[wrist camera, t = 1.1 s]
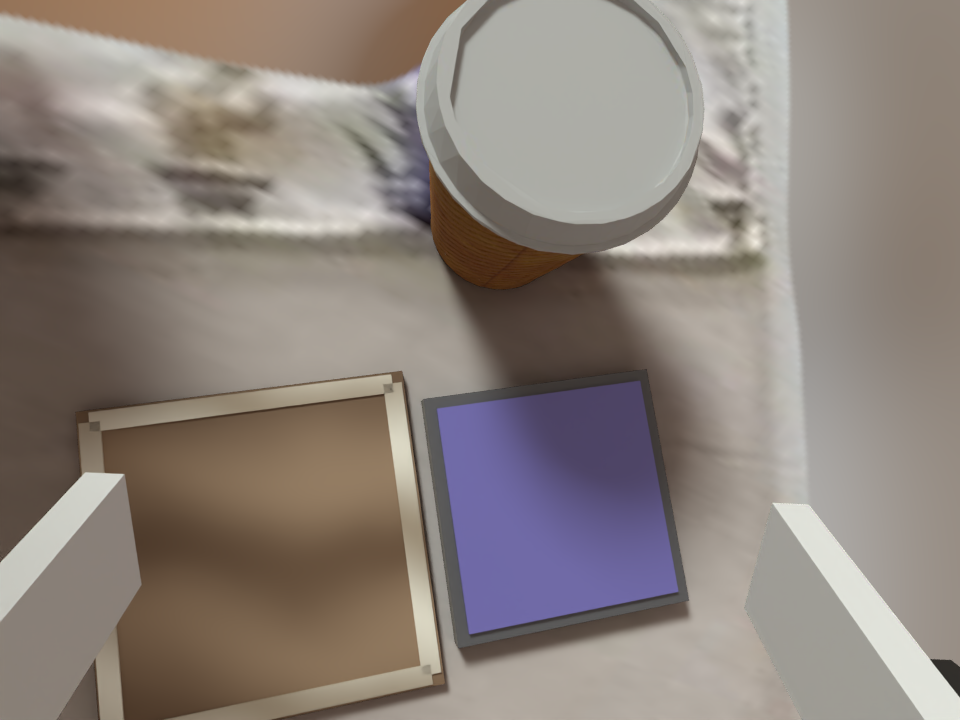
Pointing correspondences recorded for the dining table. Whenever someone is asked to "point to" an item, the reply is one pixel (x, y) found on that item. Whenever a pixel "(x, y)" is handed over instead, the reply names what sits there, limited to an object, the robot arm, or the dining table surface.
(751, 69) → the dining table surface
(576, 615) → the ink pad
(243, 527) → the brown square tray
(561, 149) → the disposable coffee cup
